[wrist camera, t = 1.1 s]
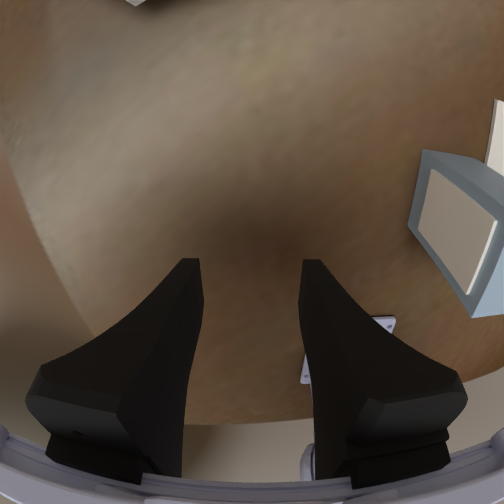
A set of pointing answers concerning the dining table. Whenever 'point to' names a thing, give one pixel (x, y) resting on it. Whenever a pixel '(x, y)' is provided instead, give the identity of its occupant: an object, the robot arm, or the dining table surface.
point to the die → (135, 2)
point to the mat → (496, 139)
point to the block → (462, 227)
